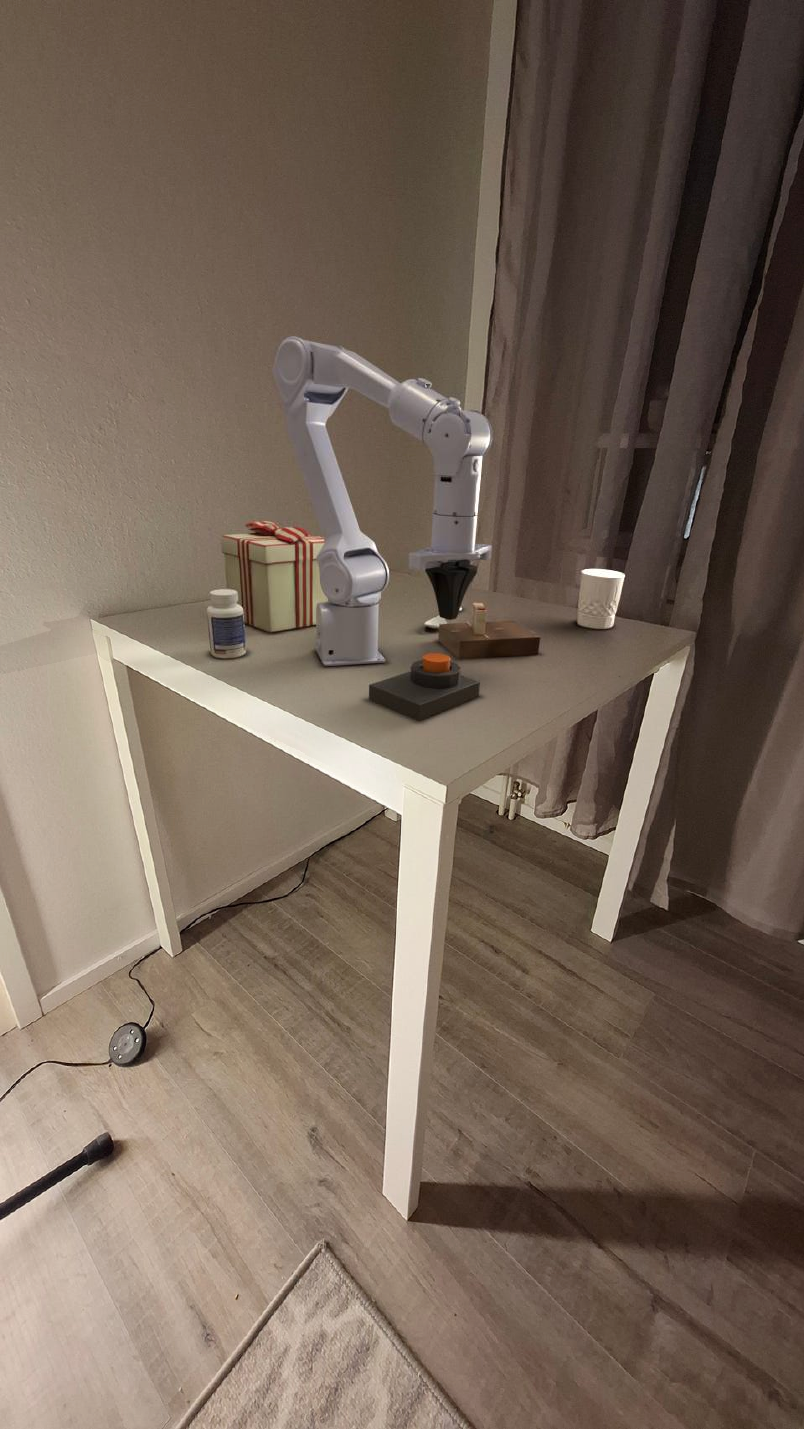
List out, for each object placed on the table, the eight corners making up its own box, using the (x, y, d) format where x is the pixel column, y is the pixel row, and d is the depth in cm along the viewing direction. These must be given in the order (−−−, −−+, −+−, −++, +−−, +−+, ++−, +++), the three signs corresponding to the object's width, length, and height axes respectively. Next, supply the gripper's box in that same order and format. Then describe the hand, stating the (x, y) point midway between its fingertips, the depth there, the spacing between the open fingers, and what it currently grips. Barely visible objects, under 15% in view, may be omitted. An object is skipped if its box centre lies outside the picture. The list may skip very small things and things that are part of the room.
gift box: (352, 618, 118) (352, 524, 111) (274, 636, 105) (269, 532, 98) (294, 601, 128) (291, 515, 121) (217, 617, 115) (209, 521, 108)
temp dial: (470, 626, 104) (473, 601, 102) (480, 626, 104) (482, 601, 103) (474, 634, 100) (476, 608, 98) (484, 634, 100) (486, 609, 98)
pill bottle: (253, 654, 96) (249, 592, 92) (223, 661, 92) (217, 597, 89) (234, 646, 99) (229, 586, 96) (204, 653, 96) (197, 591, 92)
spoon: (418, 631, 111) (419, 622, 110) (449, 606, 129) (449, 598, 128) (440, 634, 110) (441, 625, 109) (468, 608, 128) (469, 601, 127)
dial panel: (458, 659, 97) (460, 640, 96) (438, 640, 106) (439, 623, 105) (538, 654, 101) (540, 635, 100) (512, 636, 110) (513, 619, 109)
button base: (418, 721, 75) (420, 691, 74) (368, 700, 81) (368, 671, 79) (478, 696, 83) (481, 669, 82) (429, 679, 89) (430, 652, 87)
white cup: (582, 617, 125) (590, 567, 121) (621, 624, 121) (630, 573, 116) (567, 624, 119) (575, 572, 115) (607, 632, 115) (617, 579, 111)
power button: (437, 676, 80) (437, 663, 79) (416, 669, 82) (417, 656, 81) (454, 670, 82) (455, 657, 81) (434, 663, 84) (435, 651, 83)
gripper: (441, 520, 71) (434, 633, 77) (513, 514, 81) (503, 615, 86) (398, 514, 76) (394, 621, 81) (471, 509, 85) (464, 605, 91)
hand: (447, 617), depth 84 cm, fingers closed
